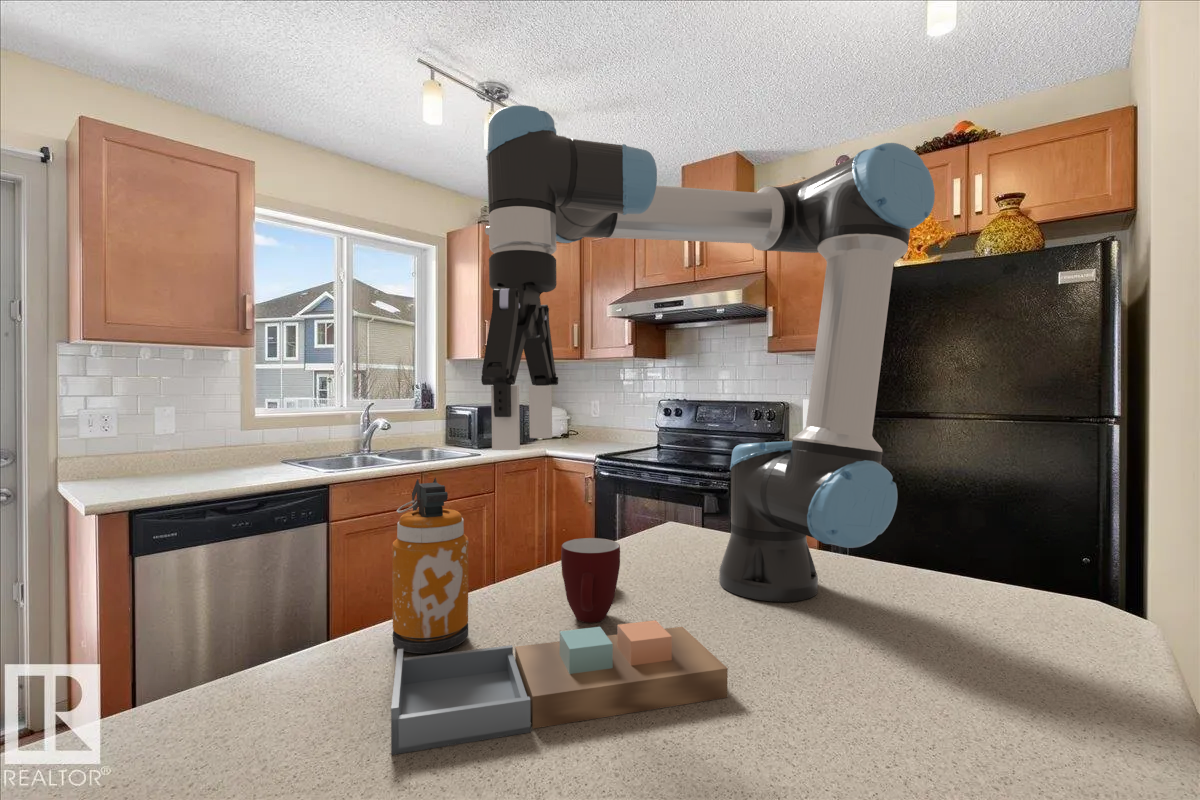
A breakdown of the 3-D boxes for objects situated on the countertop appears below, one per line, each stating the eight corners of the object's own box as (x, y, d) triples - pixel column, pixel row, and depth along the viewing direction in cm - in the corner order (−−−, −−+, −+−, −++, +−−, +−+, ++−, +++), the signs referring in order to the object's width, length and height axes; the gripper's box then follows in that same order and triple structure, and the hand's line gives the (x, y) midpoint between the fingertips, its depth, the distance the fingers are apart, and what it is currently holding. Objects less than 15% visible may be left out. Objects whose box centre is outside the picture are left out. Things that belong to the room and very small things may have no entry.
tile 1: (600, 649, 64) (600, 626, 64) (612, 668, 60) (612, 643, 60) (559, 654, 63) (559, 631, 63) (569, 674, 59) (569, 649, 59)
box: (511, 671, 65) (511, 636, 65) (530, 732, 54) (530, 688, 54) (397, 687, 62) (397, 649, 62) (391, 754, 51) (391, 708, 50)
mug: (624, 636, 75) (624, 558, 75) (560, 638, 74) (561, 559, 74) (617, 606, 86) (617, 537, 85) (561, 607, 85) (561, 538, 85)
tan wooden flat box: (682, 651, 71) (682, 626, 71) (727, 697, 60) (727, 668, 60) (515, 673, 65) (515, 646, 65) (532, 728, 55) (532, 696, 54)
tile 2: (655, 642, 66) (655, 620, 66) (671, 660, 62) (671, 636, 62) (617, 647, 65) (617, 624, 65) (631, 665, 61) (631, 641, 61)
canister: (399, 665, 67) (398, 489, 67) (385, 629, 77) (385, 476, 77) (476, 649, 71) (476, 483, 71) (454, 617, 81) (454, 472, 81)
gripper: (522, 276, 79) (525, 434, 80) (444, 227, 55) (448, 455, 55) (577, 274, 78) (579, 434, 79) (522, 222, 54) (525, 456, 54)
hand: (525, 443), depth 67 cm, fingers open, 13 cm apart
